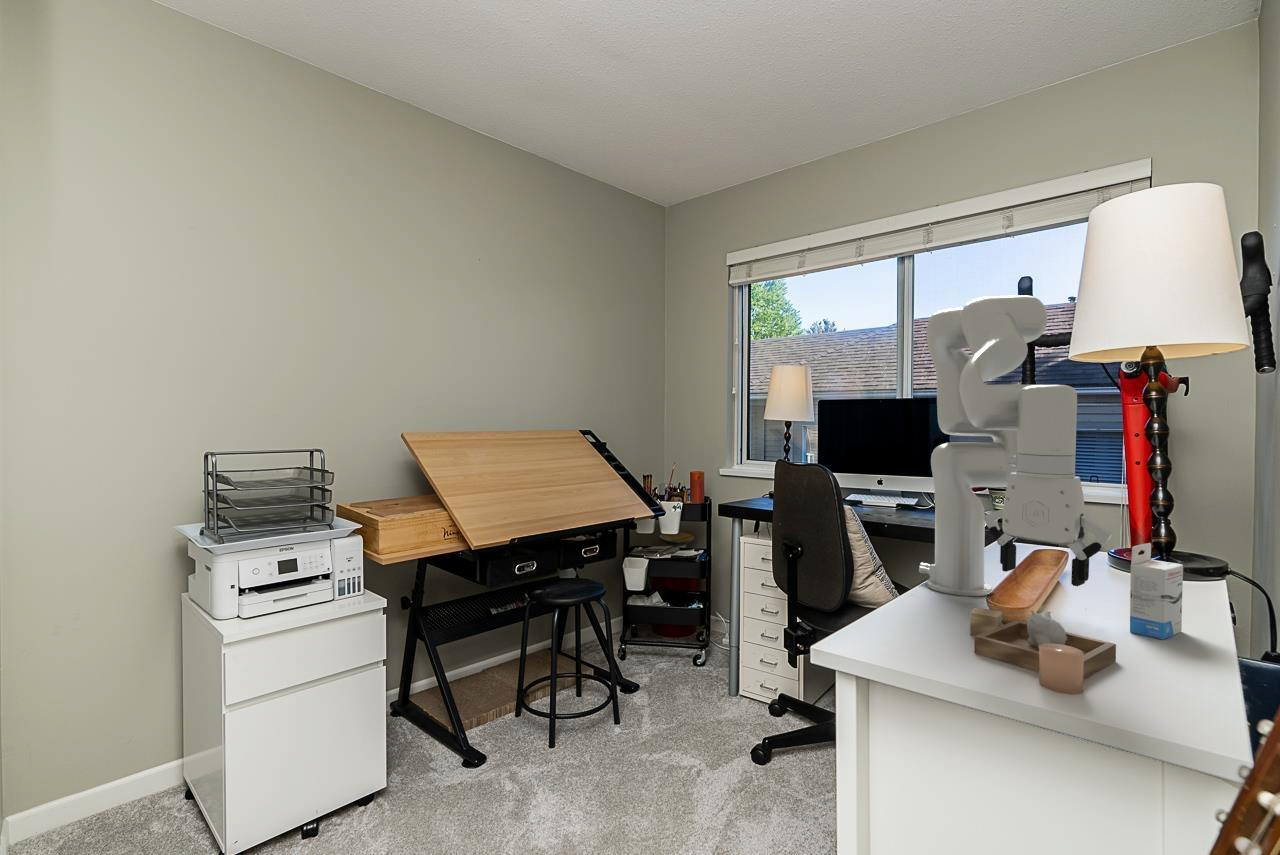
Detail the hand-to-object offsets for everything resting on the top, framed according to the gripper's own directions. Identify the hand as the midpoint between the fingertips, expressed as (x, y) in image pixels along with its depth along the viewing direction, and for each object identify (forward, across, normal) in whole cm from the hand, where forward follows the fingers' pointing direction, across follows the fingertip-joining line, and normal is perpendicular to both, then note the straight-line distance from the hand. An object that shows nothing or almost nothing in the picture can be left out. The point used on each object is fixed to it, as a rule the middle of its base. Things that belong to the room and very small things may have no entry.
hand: (1042, 576), depth 97 cm
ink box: (+13, +7, +28) cm, 32 cm away
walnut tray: (+12, +1, -1) cm, 12 cm away
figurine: (+12, +1, -1) cm, 12 cm away
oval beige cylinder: (+12, +7, -11) cm, 17 cm away
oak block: (+12, -9, +2) cm, 16 cm away
